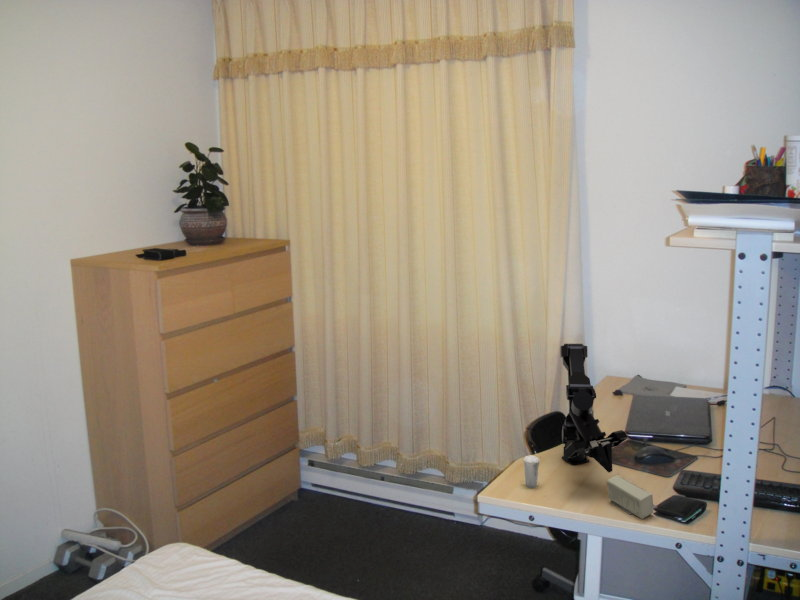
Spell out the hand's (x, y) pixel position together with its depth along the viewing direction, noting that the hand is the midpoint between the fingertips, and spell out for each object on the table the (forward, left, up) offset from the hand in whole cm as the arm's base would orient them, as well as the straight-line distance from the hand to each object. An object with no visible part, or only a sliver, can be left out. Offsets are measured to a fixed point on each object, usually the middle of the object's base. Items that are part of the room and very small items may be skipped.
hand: (610, 471), depth 194 cm
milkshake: (+15, -16, -8) cm, 24 cm away
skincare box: (0, +1, -4) cm, 4 cm away
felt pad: (-4, +6, -8) cm, 11 cm away
